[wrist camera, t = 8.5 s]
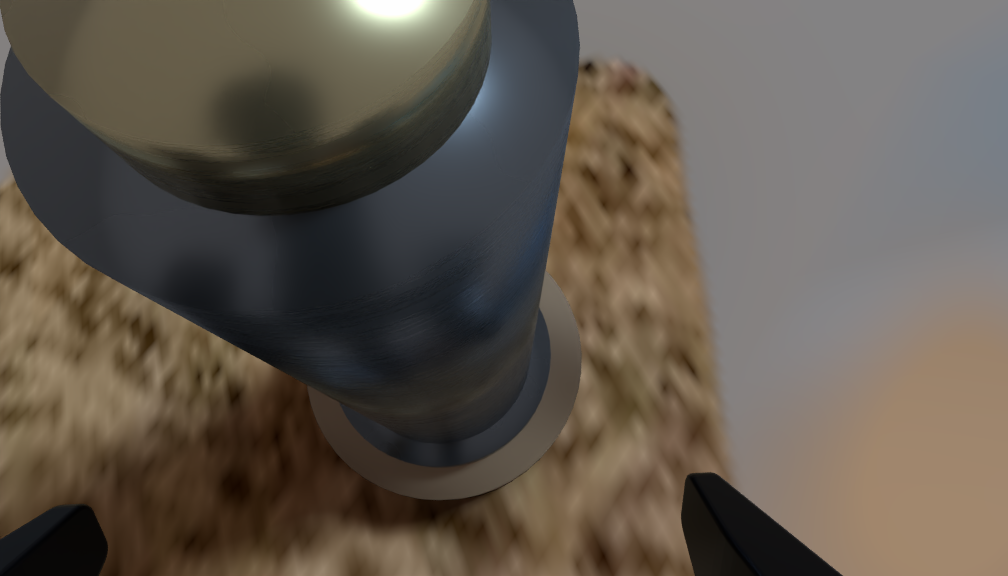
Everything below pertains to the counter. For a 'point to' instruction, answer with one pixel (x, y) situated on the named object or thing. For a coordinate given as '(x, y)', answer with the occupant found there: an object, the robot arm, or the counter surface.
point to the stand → (493, 467)
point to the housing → (316, 187)
